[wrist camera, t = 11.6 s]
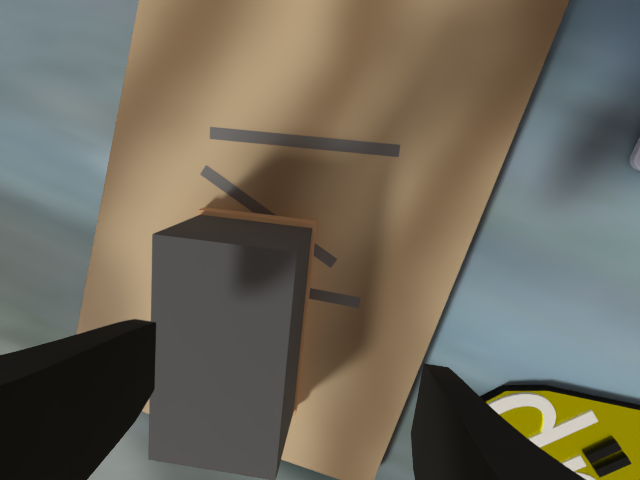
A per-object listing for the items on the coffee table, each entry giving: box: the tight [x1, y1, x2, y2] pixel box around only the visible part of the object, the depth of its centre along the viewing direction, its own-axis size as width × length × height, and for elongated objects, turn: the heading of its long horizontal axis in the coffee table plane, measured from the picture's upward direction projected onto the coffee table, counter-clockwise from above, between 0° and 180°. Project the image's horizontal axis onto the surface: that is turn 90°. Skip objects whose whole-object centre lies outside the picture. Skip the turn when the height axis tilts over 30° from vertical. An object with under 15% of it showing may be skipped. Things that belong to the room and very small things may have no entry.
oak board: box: [76, 0, 569, 480], centre depth 19 cm, size 16×24×1 cm, turn 163°
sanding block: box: [149, 207, 317, 480], centre depth 17 cm, size 5×9×5 cm, turn 174°
